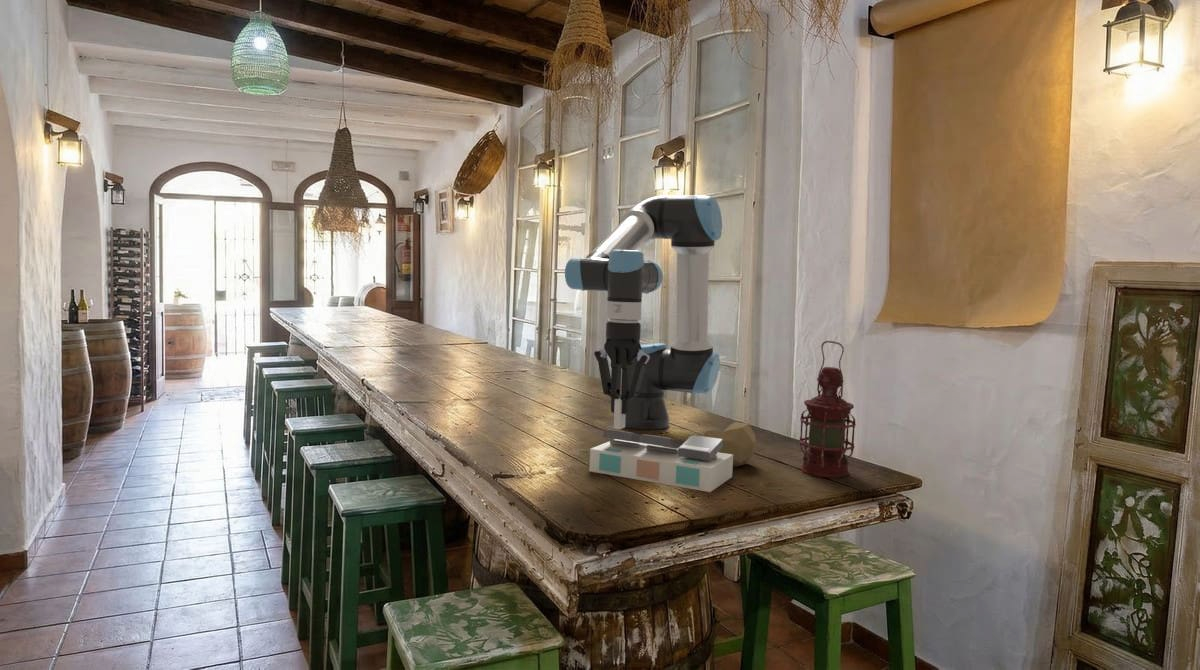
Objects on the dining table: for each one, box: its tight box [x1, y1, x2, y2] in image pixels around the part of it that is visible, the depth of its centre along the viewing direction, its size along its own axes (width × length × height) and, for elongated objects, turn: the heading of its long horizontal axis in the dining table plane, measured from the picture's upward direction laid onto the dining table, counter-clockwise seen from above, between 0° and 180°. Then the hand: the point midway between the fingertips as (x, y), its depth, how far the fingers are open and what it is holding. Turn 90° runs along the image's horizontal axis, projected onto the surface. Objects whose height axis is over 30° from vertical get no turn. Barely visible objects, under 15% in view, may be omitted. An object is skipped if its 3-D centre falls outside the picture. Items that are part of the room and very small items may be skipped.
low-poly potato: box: [702, 421, 757, 468], centre depth 186 cm, size 15×11×12 cm
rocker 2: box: [678, 434, 723, 461], centre depth 171 cm, size 8×7×2 cm
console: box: [588, 439, 734, 493], centre depth 175 cm, size 14×28×6 cm, turn 62°
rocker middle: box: [640, 433, 685, 448], centre depth 175 cm, size 8×7×2 cm
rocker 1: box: [602, 428, 641, 443], centre depth 179 cm, size 8×7×2 cm
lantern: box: [798, 340, 857, 479], centre depth 181 cm, size 12×12×30 cm
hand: (619, 427), depth 176 cm, fingers closed
